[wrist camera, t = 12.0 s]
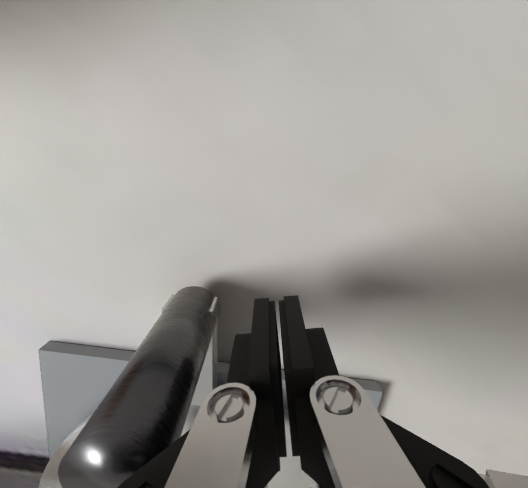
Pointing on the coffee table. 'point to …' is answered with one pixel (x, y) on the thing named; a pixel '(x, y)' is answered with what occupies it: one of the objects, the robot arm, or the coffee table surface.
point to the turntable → (154, 403)
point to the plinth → (103, 384)
